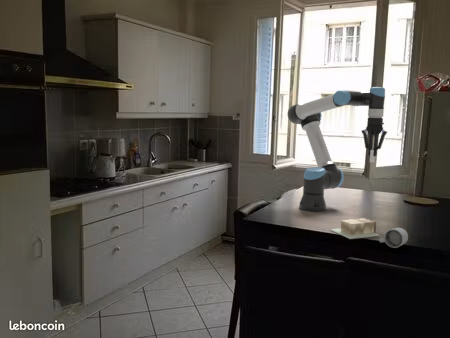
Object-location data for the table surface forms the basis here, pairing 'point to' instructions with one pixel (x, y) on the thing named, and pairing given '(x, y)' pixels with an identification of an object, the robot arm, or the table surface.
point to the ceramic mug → (395, 237)
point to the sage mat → (353, 235)
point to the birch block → (358, 226)
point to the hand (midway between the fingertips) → (371, 162)
